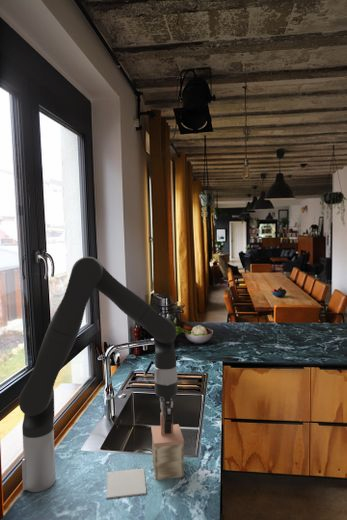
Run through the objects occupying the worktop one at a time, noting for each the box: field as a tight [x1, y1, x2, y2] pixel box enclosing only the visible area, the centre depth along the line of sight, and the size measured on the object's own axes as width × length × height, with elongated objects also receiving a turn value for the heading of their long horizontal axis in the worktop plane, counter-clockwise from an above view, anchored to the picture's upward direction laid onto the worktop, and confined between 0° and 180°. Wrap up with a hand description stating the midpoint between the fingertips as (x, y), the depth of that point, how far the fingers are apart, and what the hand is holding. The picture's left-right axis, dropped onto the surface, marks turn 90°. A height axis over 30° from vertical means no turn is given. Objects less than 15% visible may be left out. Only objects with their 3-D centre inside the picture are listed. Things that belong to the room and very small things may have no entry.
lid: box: [150, 411, 185, 447], centre depth 122 cm, size 10×11×9 cm
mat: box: [105, 468, 147, 500], centre depth 116 cm, size 12×12×1 cm
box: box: [151, 436, 185, 481], centre depth 122 cm, size 9×10×11 cm
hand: (166, 429), depth 122 cm, fingers open, 4 cm apart
